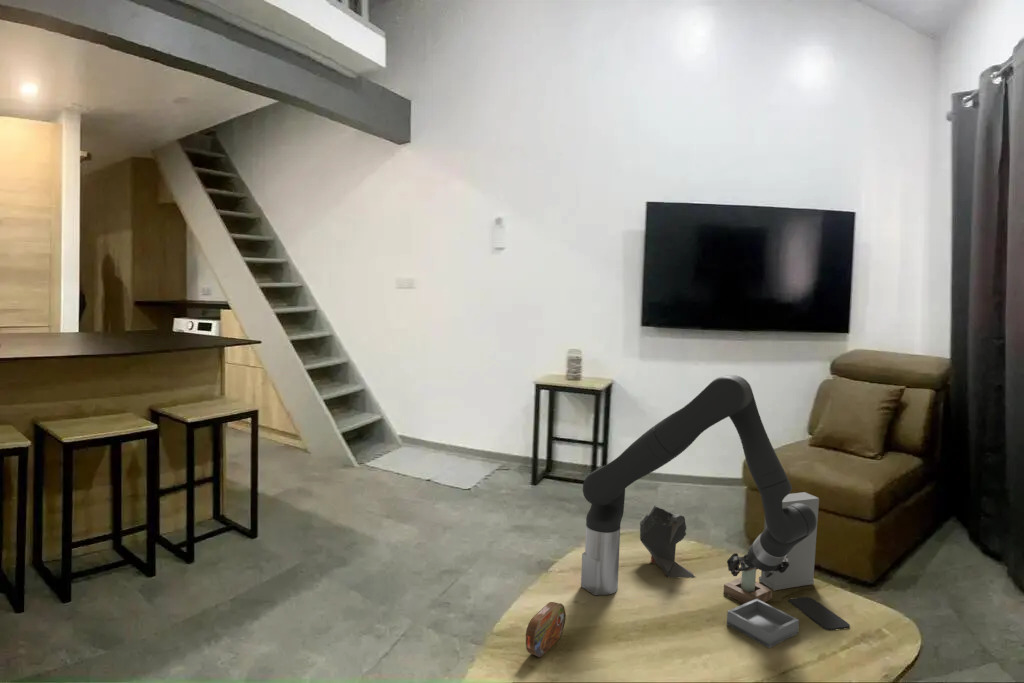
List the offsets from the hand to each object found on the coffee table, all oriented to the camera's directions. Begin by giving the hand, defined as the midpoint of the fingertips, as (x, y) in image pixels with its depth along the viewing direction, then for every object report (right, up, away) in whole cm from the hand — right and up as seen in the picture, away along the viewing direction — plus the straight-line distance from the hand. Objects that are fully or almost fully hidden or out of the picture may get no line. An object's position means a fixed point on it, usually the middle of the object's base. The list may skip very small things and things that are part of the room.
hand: (749, 573), depth 164 cm
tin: (-56, -8, -23) cm, 61 cm away
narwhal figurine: (-19, -5, +18) cm, 26 cm away
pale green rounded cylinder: (0, -7, +1) cm, 7 cm away
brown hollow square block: (0, -7, +1) cm, 7 cm away
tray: (-3, -8, -15) cm, 17 cm away
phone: (+15, -8, -7) cm, 18 cm away
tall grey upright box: (+14, -6, +9) cm, 18 cm away
